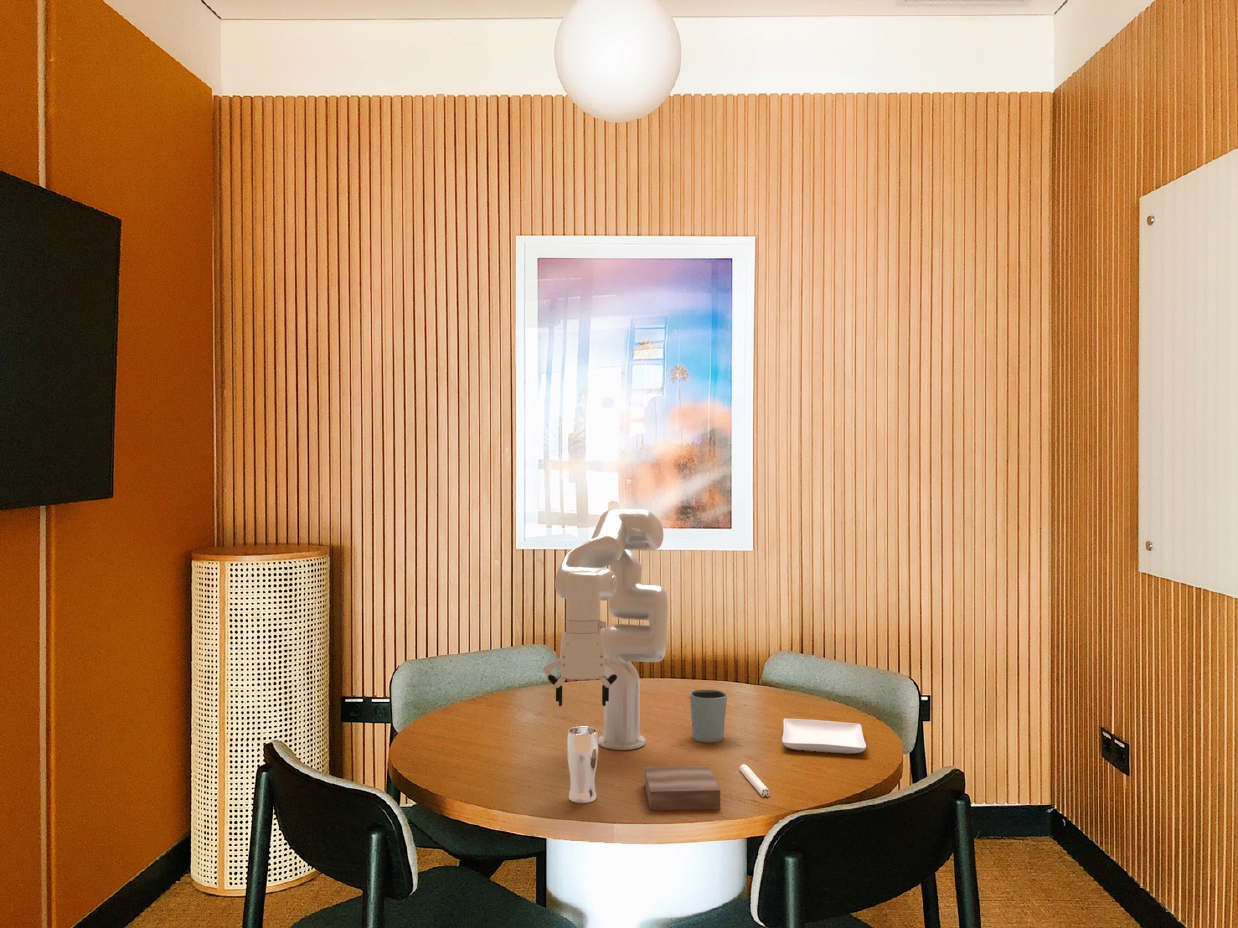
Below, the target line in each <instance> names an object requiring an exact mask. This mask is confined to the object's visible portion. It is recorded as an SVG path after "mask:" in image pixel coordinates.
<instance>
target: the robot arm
mask: <svg viewBox="0 0 1238 928" xmlns="http://www.w3.org/2000/svg"><path fill="white" fill-rule="evenodd" d="M663 528H664V527H663V524H662V522H661V520H660V519H659V518H658V517H657V516H656V515H655V514H654V513H652V512H651V511H650V510H647V509H643V508H642V509H641V508H639V509H637V508H613V509H608V510H606V511H604V512H603V513H602V514H601V516H600V518H599V520H598V522H597V525H596V527H595V530H593V531H594V532H593V534H592V537H591V539H590V540H587V541H585V542H583V543H582V544H580V545H578V546H576V547H575V548H573V549H571V550H570V551H569V552H568V553H566V555H564V557H563V559H562V561H561V563H560V565H559V567H558V569H557V572H556V575H555V579H554V580H555V581H554V588H555V591H556V594H557V595H558V596H559V597H560V598H562V599H565V603H566V604H565V607H566V608H565V631H564V632H562V636H561V641H560V646H559V647H560V648H559V649H560V651H559V658H557V659H555V660H554V661H551V662H550V663H547V664H546V665H543V672H544V674H545V676H546V677H547V680H548V681H549V682H550V683H551V684H552V686H554V687H555V702H558V707H561V706H563V684H564V683H565V681H566V680H599V681H600V682H601V683H602V686H601V703H602V704H601V705H602V706H603V734H602V735H600V736H598V746H600V747H602V748H605V749H608V750H609V749H610V750H613V751H629V750H636V749H639V748H641V747H643V746H644V745H645V744H646V738H645V737H644V735H642V734H640V729H641V727H640V724H641V723H640V716H641V715H640V707H641V706H640V705H641V702H640V698H641V697H640V692H641V691H640V686H641V685H640V683H641V680H640V679H641V678H640V674H639V672H638V670H637V669H636V667H635V666H634V664H633V663H632V662H640V663H641V662H642V663H643V662H645V663H658V662H661V661H662V660H664V658H665V655H666V652H667V636H668V614H669V613H668V610H669V609H668V608H669V607H668V605H669V604H668V602H669V601H668V595H667V591H666V590H665V588H664V587H663V586H661V585H658V584H642V571H643V570H642V568H643V567H642V563H641V562H640V560H639V559H638V558H637V556H636V554H634V552H633V551H656V550H658V549H660V548H661V546H662V544H663V541H664V529H663ZM608 566H609V568H607V567H608ZM605 567H606V568H605ZM602 601H608V610H609V614H610V615H611V616H612V617H614V618H615V619H621V620H634V621H646V622H648V623H649V625H644V624H630V623H628V624H627V623H621V624H620V623H618V624H617V623H615V624H611V625H608V626H607V621H602V620H601V617H600V615H601V602H602ZM603 628H604V629H603ZM602 629H603V630H602ZM601 630H602V631H601ZM557 667H559V676H557V677H556V676H555V675H554V674H553V673H552V670H553V669H556V668H557Z"/></svg>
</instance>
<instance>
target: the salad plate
mask: <svg viewBox="0 0 1238 928" xmlns="http://www.w3.org/2000/svg"><path fill="white" fill-rule="evenodd" d="M782 721H783V732H782V733H783V734H782V736H781V737H782V738H781V741H782V742H781V743H782V744H783V745H784V746H785V747H786V748H788V749H791V750H796V751H801V750H804V751H805V752H814V751H816V753H829V752H830V754H831V753H833V754H846V755H847V754H848V755H849V754H859V753H862V752H864V751H865V750H866V749H867V744H866V740H865V737H864V733H863V728H862V724H860V723H855V722H844V721H831V720H822V719H821V720H818V719H805V718H804V719H803V718H800V719H799V718H783V720H782ZM804 751H803V752H804Z"/></svg>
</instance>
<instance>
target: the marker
mask: <svg viewBox="0 0 1238 928" xmlns="http://www.w3.org/2000/svg"><path fill="white" fill-rule="evenodd" d="M739 771H740V772H741V774H742V776H744V778H746V780H748V782H749V783H750V784H751V785H752V787H754V788H753V789H755V790H756V791H757V792H758V793H759V795H760V796H761V797H762V798H763V797H765V796H766V797H770V790H769V788H768V787H767V786H766V785H765V784H764V782H762V781H761V779H760V778H759V777H758V776H757V775H756V774H755V772H754V771H753V770H752V769H751V768H750V767H749V766H748V765H746V764H741V765H740V766H739Z"/></svg>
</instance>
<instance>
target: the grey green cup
mask: <svg viewBox="0 0 1238 928" xmlns="http://www.w3.org/2000/svg"><path fill="white" fill-rule="evenodd" d="M689 700H690V701H689V702H690V711H691V712H690V714H691V716H690V717H691V718H690V719H691V734H692V736H691V737H692V739H693V740H695V741H697V742H700V743H717V742H721V741H723V740H724V736H725V732H724V731H725V721H726V720H725V719H726V713H727V711H726V710H727V707H726V706H727V701H728V694H727V693H726V692H724V691H721V690H717V689H696V690H695V689H694V690H692V691H690V692H689Z"/></svg>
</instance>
